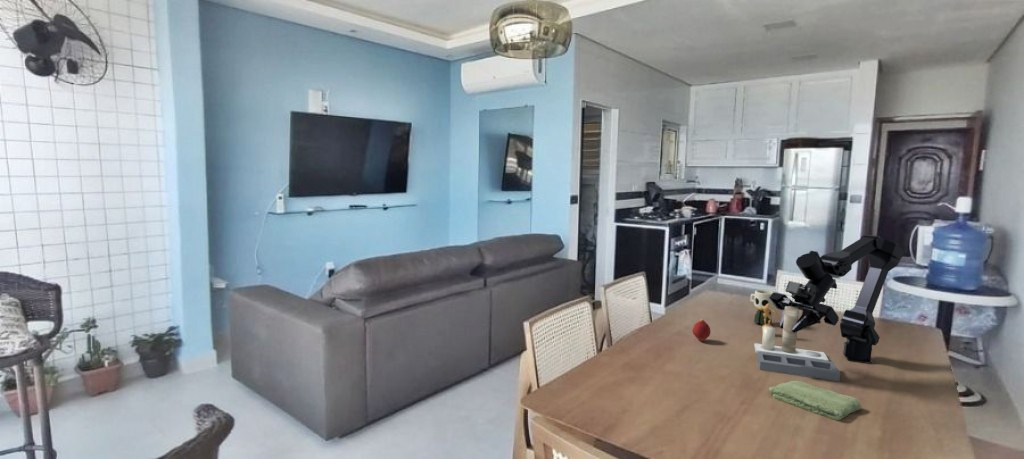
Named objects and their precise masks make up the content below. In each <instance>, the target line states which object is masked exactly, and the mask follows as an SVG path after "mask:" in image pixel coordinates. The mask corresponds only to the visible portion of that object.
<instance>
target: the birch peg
mask: <svg viewBox="0 0 1024 459" xmlns="http://www.w3.org/2000/svg"><path fill="white" fill-rule="evenodd" d="M799 313H800V310H799V308H797V307H792V306H785V311H784V323H783V329H782V335H781V337H782V338H781V347H782V349H781V350H782V351H783V352H786V353H795V351H796V349H797V337H798V331H797V332H795V333H793V332H792V329H793V327H794V325H795V324H796V322H797V321H798V320H799V315H800V314H799Z"/></svg>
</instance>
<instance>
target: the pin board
mask: <svg viewBox="0 0 1024 459" xmlns="http://www.w3.org/2000/svg"><path fill="white" fill-rule="evenodd" d="M756 358H757V364H758V367H759V370H761V371H769V372H774V373H781V374H786V375H787V374H788V375H794V376H801V377H807V378H809V377H810V378H816V379H820V380H829V381H834V382H835V381H836V382H840V378H841V372H840V370H839V368H838V367H837V365H836V364H835V362H834V361H830V360H829V361H824V360H816V359H809V358H802V357H794V356H787V355H780V354H772V353H765V352H758V354H757V357H756Z"/></svg>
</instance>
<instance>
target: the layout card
mask: <svg viewBox="0 0 1024 459" xmlns="http://www.w3.org/2000/svg"><path fill="white" fill-rule="evenodd" d="M761 340H762V341H761V343H757V342H754V344H753V345H754V350H755V353H756V354H757V355H758V352H765V353H772V354H780V355H787V356H794V357H802V358H809V359H816V360H824V361H830V360H829V358H828V356H827V355H826V354H825V351H816V350H809V349H802V348H796V351H795V353H786V352H783V351H782V350H781V349H782V346H778V345H775V340H776V327H774V326H773V327H769V326H764V327H763V332H762V339H761Z"/></svg>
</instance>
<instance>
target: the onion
mask: <svg viewBox="0 0 1024 459" xmlns="http://www.w3.org/2000/svg"><path fill="white" fill-rule="evenodd" d="M692 333H693V334H692V335H693V336H694V337H695V338H696V339H697V340H698V341H700V342H703V341H705V340H707V338H709V337H710V335H711V326H710V325H709V324H708V323H707V322H706V321H705V320H704V319H703V318H699V321H697V322H696V323H695V324H693V327H692Z"/></svg>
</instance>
